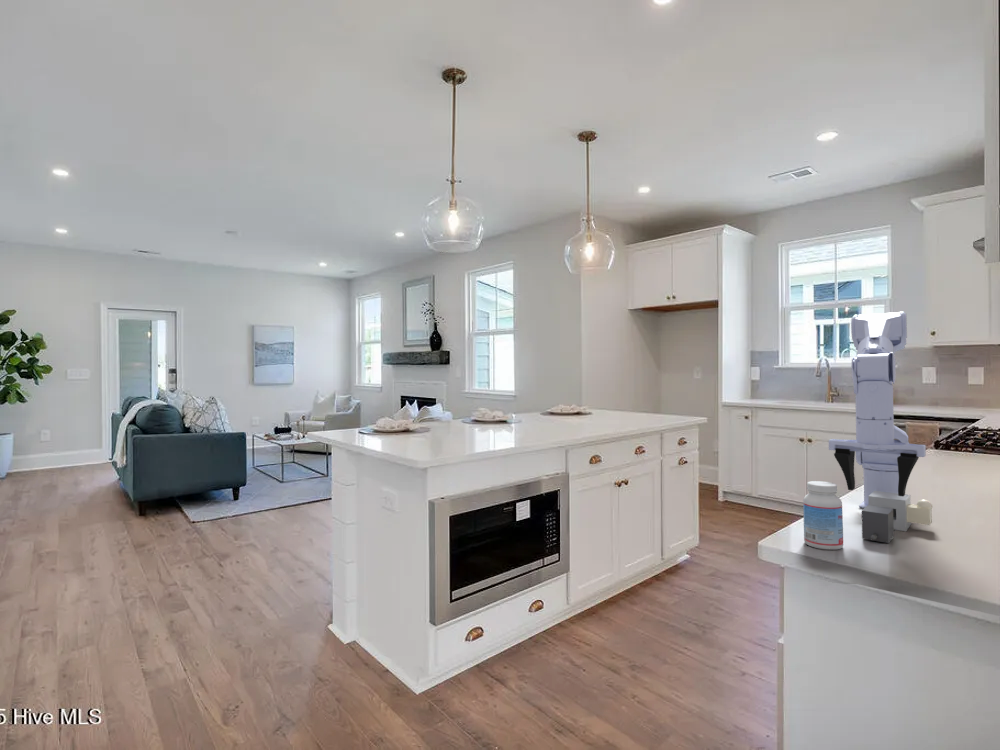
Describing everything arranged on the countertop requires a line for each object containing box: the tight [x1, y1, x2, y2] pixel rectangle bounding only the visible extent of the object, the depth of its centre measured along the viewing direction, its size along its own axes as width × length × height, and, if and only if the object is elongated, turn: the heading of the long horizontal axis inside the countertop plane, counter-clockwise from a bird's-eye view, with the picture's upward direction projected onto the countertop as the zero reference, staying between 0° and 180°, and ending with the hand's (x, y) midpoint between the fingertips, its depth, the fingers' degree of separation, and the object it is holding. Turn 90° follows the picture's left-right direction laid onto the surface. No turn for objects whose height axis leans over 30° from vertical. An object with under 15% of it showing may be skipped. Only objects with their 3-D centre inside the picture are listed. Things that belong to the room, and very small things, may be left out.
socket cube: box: [868, 491, 912, 532], centre depth 107 cm, size 6×6×6 cm
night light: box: [907, 499, 933, 526], centre depth 104 cm, size 3×4×4 cm
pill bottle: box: [802, 480, 844, 551], centre depth 96 cm, size 6×6×11 cm
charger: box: [861, 505, 895, 544], centre depth 99 cm, size 9×4×5 cm, turn 135°
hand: (875, 492), depth 98 cm, fingers open, 7 cm apart
